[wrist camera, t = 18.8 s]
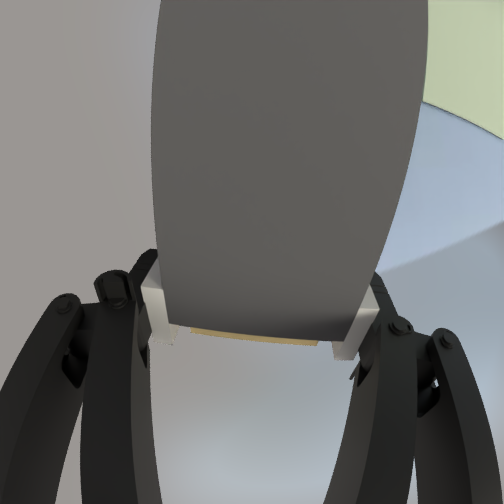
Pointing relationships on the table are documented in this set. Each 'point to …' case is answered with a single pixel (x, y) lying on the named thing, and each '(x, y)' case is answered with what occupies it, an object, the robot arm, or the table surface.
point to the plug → (280, 158)
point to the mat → (466, 61)
